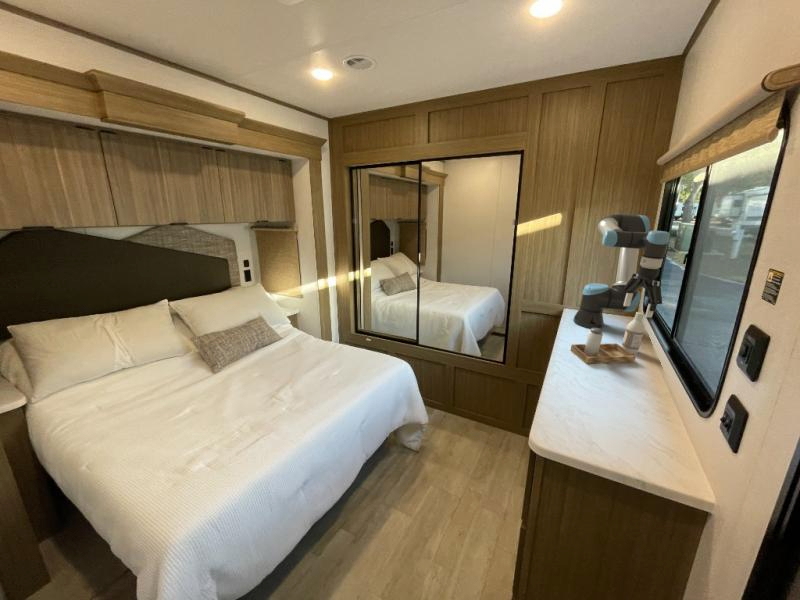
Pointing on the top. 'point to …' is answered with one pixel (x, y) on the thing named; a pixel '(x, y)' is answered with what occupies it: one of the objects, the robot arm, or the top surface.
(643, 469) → the top surface
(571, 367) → the top surface
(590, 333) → the white and grey cylinder
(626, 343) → the bath foam
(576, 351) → the caddy
